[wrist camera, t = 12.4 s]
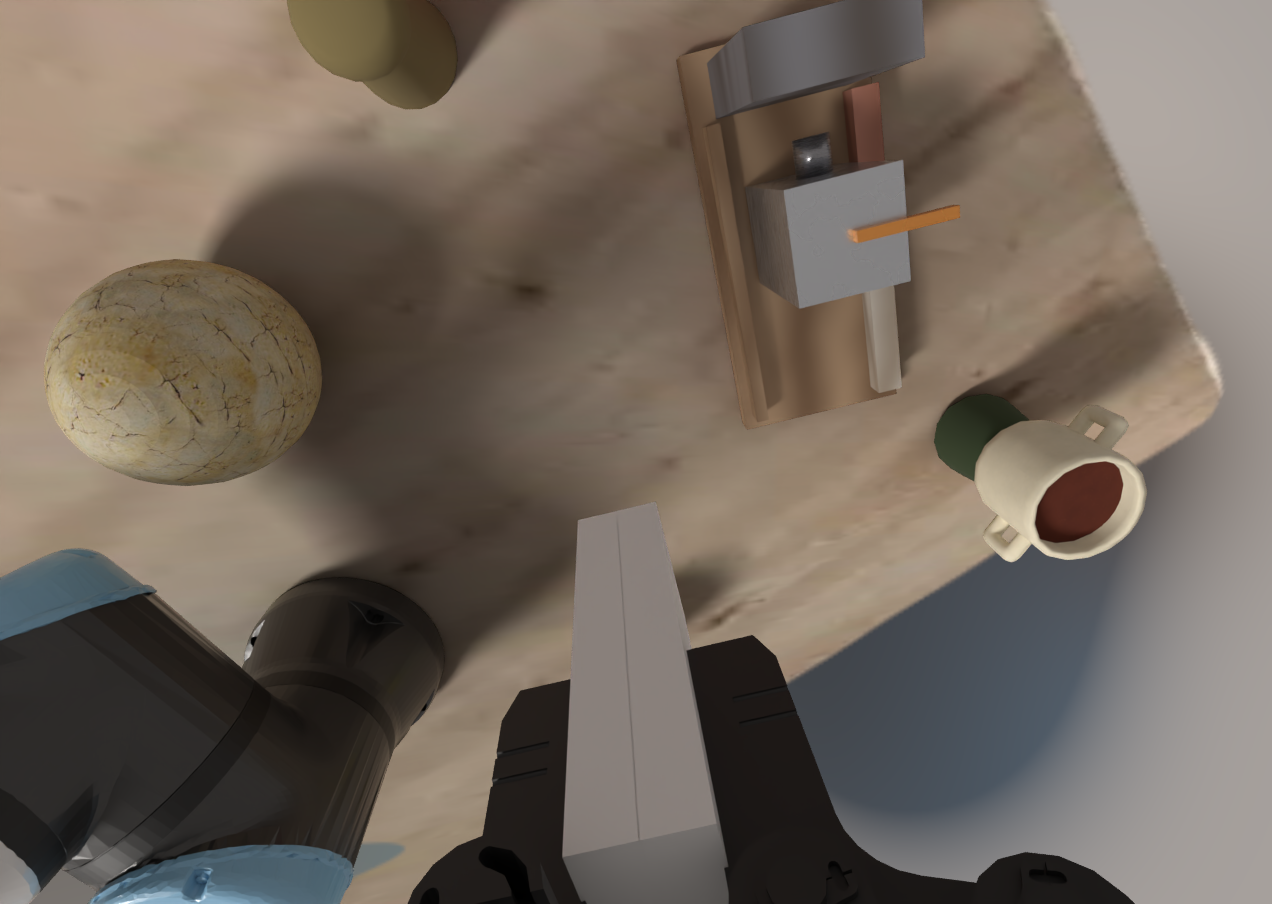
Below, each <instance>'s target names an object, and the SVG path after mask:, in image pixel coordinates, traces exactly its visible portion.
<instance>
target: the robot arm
mask: <svg viewBox="0 0 1272 904" xmlns="http://www.w3.org/2000/svg"><path fill="white" fill-rule="evenodd" d="M156 591H157V590H155V589H154V588H153V587H152V586H149V585H143V584H141V583H140V582H139V581H137V580H136V579H135V578H133V577H132V576H131V575H130V574H128V573H127V572H126V571H124V570H123V569H122V568H120V567H119V566H118V565H116V564H115V563H114V562H113V561H111V560H110V559H109V558H107V557H106V556H104V555H103V554H101V553H99V552H96V551H93V550H89V549H80V548H78V549H66V550H61V551H58V552H54V553H52V554H49V555H47V556H44V557H42V558H40V559H38V560H36V561H33V562H31V563H29V564H27V565H25V566H23V567H21V568H19V569H17V570H15V571H13V572H11V573H9V574H7V575H5V576H3V577H1V578H0V904H29V903H30V902H31V901H32V900H33V899H34V898H35V897H36V896H37V895H38V894H39V893H40V892H41V891H42V890H43V888H44V887H45V886H46V885H47V884H48V883H49V882H50V880H51V879H52V878H53V877H54V876H55V875H56V874H57V873H58V871H59V870H60V869H62V870H63V871H66V872H67V873H69V874H70V875H72V876H73V877H75V878H77V879H78V880H80V881H81V882H83V883H85V884H86V885H88V886H89V887H91V888H92V889H94V890H95V891H96V892H97V893H96V894H95V895H94V897H93V898H92V899H91V900H90V901H89V902H88V904H340V902H341V900H342V897H343V895H344V893H345V891H346V890H347V888H348V887H349V885H350V883H351V881H352V878H353V871H354V870H353V867H354V864H355V861H356V858H357V855H358V852H359V849H360V847H361V844H362V841H363V838H364V835H365V832H366V829H367V826H368V823H369V820H370V817H371V814H372V811H373V808H374V806H375V803H376V800H377V797H378V794H379V791H380V788H381V785H382V782H383V779H384V776H385V773H386V771H387V767H388V765H389V762H390V759H391V756H392V753H393V750H394V749H395V748H396V746H397V745H398V744H399V743H400V742H401V740H402V739H403V738H404V737H405V735H406V734H407V732H408V731H409V729H410V727H411V726H412V725H413V724H414V723H416V722H417V721H418V720H419V719H420V717H421V716H422V715H423V714H424V713H425V712H426V710H427V709H428V708H429V706H430V704H431V703H432V701H433V699H434V697H435V695H436V692H437V689H438V686H439V683H440V679H441V676H442V673H443V668H444V649H443V644H442V641H441V638H440V635H439V633H438V631H437V629H436V627H435V626H434V624H433V622H432V621H431V620H430V618H429V617H428V616H427V615H426V614H425V613H424V611H423V610H422V609H421V608H419V607H418V606H417V605H416V604H415V603H414V602H412V601H411V600H410V599H408V598H407V597H405V596H403V595H402V594H400V593H398V592H396V591H394V590H392V589H390V588H388V587H386V586H383V585H380V584H377V583H374V582H370V581H366V580H360V579H353V578H327V579H320V580H315V581H311V582H308V583H305V584H302V585H299V586H297V587H295V588H293V589H291V590H289V591H288V592H286V593H284V594H283V595H282V596H280V597H279V598H278V599H277V600H276V601H275V602H274V603H273V604H272V605H271V606H270V607H269V609H268V610H267V611H266V613H265V614H264V615H263V617H262V618H261V619H260V621H259V622H258V623H257V625H256V626H255V628H254V629H253V631H252V633H251V635H250V638H249V640H248V643H247V647H246V651H245V657H244V664H243V667H242V668H241V667H240V666H238V665H237V664H236V663H235V662H234V661H233V660H231V659H230V658H229V657H228V656H227V655H226V654H225V653H223V652H222V651H221V650H220V649H219V648H218V647H216V646H215V645H214V644H213V643H212V642H211V641H210V640H208V639H207V638H206V637H205V636H204V635H203V634H201V633H200V632H199V631H198V630H197V629H196V628H194V627H193V626H192V625H191V624H190V623H189V622H188V621H186V620H185V619H184V618H183V617H182V616H181V615H179V614H178V613H177V612H176V611H175V610H174V609H173V608H171V607H170V606H169V605H168V604H167V603H166V602H164V601H163V600H162V599H161V598H160V597H159V596H157V595H156V594H155V593H156ZM492 781H493V787H491V789H490V795H489V801H488V807H487V813H486V819H485V825H484V830H483V836H481V837H478V838H476V839H473V840H471V841H468V842H466V843H463V844H461V845H459V846H457V847H455V848H454V849H453V850H452V851H450V852H449V853H448V854H446V855H445V856H444V857H443V858H441V859H440V860H439V861H437V862H436V863H435V864H434V865H433V866H432V867H431V868H430V870H429V871H428V872H427V873H426V875H425V876H424V877H423V879H422V880H421V881H420V882H419V884H418V885H417V886H416V888H415V889H414V890H413V892H412V895H411V897H410V899H409V902H408V904H1135V903H1134V902H1133V901H1132V900H1130V899H1129V897H1127V896H1126V895H1125V894H1124V893H1122V892H1121V891H1120V890H1119V889H1117V888H1116V887H1115V886H1113V885H1112V884H1111V883H1109V882H1108V881H1107V880H1105V879H1104V878H1102V877H1101V876H1100V875H1099V874H1097V873H1096V872H1095V871H1093V870H1091V869H1088V868H1086V867H1084V866H1081V865H1079V864H1076V863H1074V862H1072V861H1069V860H1067V859H1065V858H1062V857H1060V856H1054V855H1046V854H1037V853H1028V852H1025V853H1020V854H1017V855H1013V856H1009V857H1005V858H1001V859H998V860H997V861H995V863H993V864H992V865H991V866H990V867H989V868H988V869H987V870H986V871H985V872H983V873H982V874H981V875H980V876H979V878H978V880H977V883H974V882H966V881H959V880H951V879H943V878H935V877H927V876H920V875H916V874H912V873H908V872H904V871H899V870H897V869H895V868H892V867H890V866H888V865H886V864H884V863H882V862H880V861H878V860H876V859H875V858H873V857H872V856H871V855H869V854H868V853H867V852H865V851H864V850H863V849H861V848H860V847H859V846H858V845H857V844H856V843H855V842H854V841H853V840H852V838H851V837H850V836H849V835H848V834H847V833H846V832H845V830H844V829H843V827H842V825H841V823H840V821H839V819H838V817H837V815H836V814H835V811H834V808H833V806H832V803H831V800H830V798H829V795H828V792H827V790H826V787H825V785H824V782H823V779H822V777H821V774H820V771H819V769H818V766H817V764H816V761H815V758H814V755H813V753H812V750H811V748H810V745H809V743H808V740H807V737H806V734H805V732H804V729H803V727H802V724H801V721H800V718H799V716H798V715H797V712H796V708H795V705H794V703H793V700H792V698H791V695H790V692H789V691H788V688H787V684H786V681H785V679H784V676H783V674H782V671H781V668H780V666H779V663H778V660H777V658H776V656H775V655H774V654H773V653H772V652H771V651H770V650H769V649H768V648H766V647H765V646H764V645H763V644H762V643H761V642H760V641H759V640H758V639H757V638H755V637H754V636H753V635H751V636H747V637H742V638H738V639H733V640H729V641H725V642H720V643H716V644H712V645H707V646H703V647H699V648H694V649H692V648H691V644H690V639H689V634H688V629H687V624H686V619H685V615H684V611H683V607H682V603H681V599H680V595H679V591H678V587H677V583H676V580H675V576H674V572H673V568H672V564H671V560H670V556H669V552H668V548H667V544H666V540H665V536H664V532H663V528H662V524H661V521H660V517H659V513H658V509H657V505H656V502H652V503H648V504H644V505H640V506H635V507H631V508H627V509H623V510H619V511H614V512H610V513H606V514H602V515H598V516H593V517H589V518H585V519H581V520H578V531H577V553H576V574H575V595H574V617H573V638H572V660H571V679H569V680H565V681H561V682H556V683H552V684H547V685H543V686H539V687H534V688H530V689H526V690H521V691H520V692H519V693H518V695H517V697H516V698H515V700H514V702H513V703H512V705H511V707H510V708H509V710H508V712H507V713H506V715H505V717H504V718H503V720H502V724H501V730H500V736H499V742H498V748H497V759H495V765H494V771H493V777H492Z"/></svg>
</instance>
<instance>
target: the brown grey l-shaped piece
mask: <svg viewBox="0 0 1272 904" xmlns="http://www.w3.org/2000/svg"><path fill="white" fill-rule="evenodd" d="M924 57H925V47H924V27H923V7H922V0H844V1H840V2H836V3H832V4H828V5H825V6H821V7H817V8H813V9H810V10H806V11H802V12H798V13H795V14H791V15H787V16H783V17H780V18H776V19H772V20H768V21H764V22H761V23H757V24H753V25H749V26H746V27H743V28H742V29H741V30H740V31H739V32H738V33H737V34H736V35H735V36H734V37H733V38H732V39H731V40H730V41H729V42H728V43H727V44H724V45H720V46H716V47H712V48H709V49H705V50H701V51H697V52H694V53H690V54H686V55H682V56H679V58H678V59H677V60H676V61H677V66H678V72H679V77H680V83H681V88H682V94H683V99H684V105H685V110H686V116H687V121H688V127H689V132H690V137H691V143H692V148H693V154H694V159H695V165H696V170H697V176H698V181H699V187H700V192H701V198H702V203H703V209H704V214H705V219H706V225H707V230H708V236H709V241H710V247H711V252H712V258H713V263H714V269H715V274H716V280H717V285H718V291H719V296H720V301H721V307H722V312H723V318H724V323H725V329H726V334H727V340H728V345H729V351H730V356H731V362H732V367H733V372H734V378H735V383H736V389H737V394H738V400H739V405H740V411H741V416H742V422H743V424H744V426H745V427H746V429H747V430H748V429H752V428H756V427H760V426H764V425H769V424H773V423H777V422H781V421H785V420H789V419H793V418H798V417H802V416H806V415H810V414H814V413H818V412H822V411H827V410H831V409H835V408H839V407H843V406H847V405H851V404H855V403H860V402H864V401H868V400H872V399H876V398H880V397H884V396H889V395H893V394H896V389H898V388H902V383H901V370H900V356H899V343H898V330H897V317H896V303H895V290H894V285H893V286H889V287H885V288H881V289H877V290H873V291H869V292H865V293H861V294H857V295H853V296H849V297H845V298H841V299H837V300H833V301H828V302H824V303H820V304H816V305H812V306H808V307H804V308H800V309H799V308H798V307H796V306H795V305H793V304H791V303H790V302H788V301H787V300H785V299H784V298H782V297H781V296H779V295H778V294H776V293H774V292H773V291H771V290H770V289H768V288H767V287H765V286H764V285H762V284H761V283H760V281H759V274H758V268H757V262H756V255H755V249H754V242H753V236H752V230H751V223H750V217H749V211H748V204H747V198H746V192H745V187H748V186H752V185H756V184H760V183H764V182H768V181H772V180H776V179H780V178H784V177H787V176H791V175H795V174H796V173H795V165H794V157H793V149H792V141H793V140H797V139H801V138H805V137H808V136H812V135H817V134H821V133H825V132H829V135H830V144H831V154H832V163H833V165H834V164H838V163H852V162H872V161H885V158H884V144H883V131H882V118H881V105H880V92H879V82H876V83H872V78H871V76H874V75H877V74H879V73H882V72H885V71H888V70H891V69H893V68H896V67H899V66H902V65H904V64H907V63H910V62H913V61H916V60H918V59H921V58H924Z"/></svg>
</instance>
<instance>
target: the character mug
mask: <svg viewBox="0 0 1272 904" xmlns="http://www.w3.org/2000/svg"><path fill="white" fill-rule="evenodd" d="M1094 422H1095V423H1097V424H1099V425H1101V426H1103V427H1105V428H1104V429H1103V431H1102V432H1101V433H1100V434H1099V435H1098V437H1097V438H1096V439H1095V440H1093V439H1091V438H1089V437H1087V436H1085V435H1084V434H1085V433H1086V432H1087V430H1088V429H1089V428H1090V427H1091V426H1092V424H1093V423H1094ZM1128 426H1129V425H1128V422H1127V421H1126V420H1125V419H1124V417H1122V416H1120V415H1118V414H1115V413H1113V412H1111V411H1109V410H1107V409H1104V408H1102V407H1100V406H1094V405H1087V406H1086V407H1085V408H1083V409H1082V410H1081V411H1080V412H1079V414H1078V415H1077V416H1076V417H1075V419H1074V420H1073V421H1072V422H1071V424H1070V425H1069V426H1066V425H1062V424H1059V423H1055V422H1052V421H1048V420H1032V421H1030V420H1029V419H1028V418H1026V417H1025V416H1024V415H1023V414H1022V413H1021V412H1020V411H1019V410H1017V409H1016V408H1015V407H1014V406H1013V405H1011V404H1010V403H1009V402H1007V401H1006V400H1005V399H1003V398H1000V397H996V396H993V395H989V394H983V395H977V396H971V397H966V398H964V399H963V400H961V401H959V402H958V403H956V404H954V405H953V406H951V407H949V408H948V409H947V411H946V412H945V414H944V415H943V416H942V418H941V419H940V420H939V422H938V423H937V428H936V433H935V439H934V443H935V446H936V449H937V453H938V456H939V458H940V459H941V460H942V461H943V462H944V463H945V464H947V465H948V466H949V467H950V468H951V469H953V470H955V471H956V472H958V473H960V474H961V475H963V476H965V477H967V478H969V479H971V480H973V481H974V482H975V484H976V487H977V489H978V491H979V493H980V496H981V498H982V500H983V502H984V503H985V504H986V505H987V506H988V507H989V508H991V509H992V510H993V511H994V512H995V513H996V514H997V516H996V517H995V518H994V519H993V521H992V522H991V523H990V524H989V526H988V527H987V528H986V529H985V531H984V533H983V537H984V540H985V541H986V543H987V544H988V545H989V546H990V547H991V548H993V549H994V550H995V551H996V552H997V553H998V554H999V555H1000V556H1001V557H1002V558H1003V559H1004V560H1006V561H1009V562H1013V561H1016V560H1017V559H1019V558H1020V557H1021V556H1022V555H1023V553H1024V552H1025V551H1026V550H1027V549H1028V547H1029V546H1030V545H1031V544H1033V545H1034V546H1036V547H1037V548H1038V549H1039V550H1040V551H1041V552H1043V553H1044V554H1046V555H1048V556H1052V557H1056V558H1060V559H1065V560H1071V559H1080V558H1087V557H1091V556H1093V555H1096V554H1098V553H1100V552H1103V551H1106V550H1108V549H1110V548H1111V547H1112V546H1114V545H1115V544H1117V543H1118V542H1120V541H1121V540H1122V539H1123V538H1125V537H1126V536H1127V535H1128V534H1129V533H1130V532H1131V530H1132V529H1133V527H1135V525H1136V524H1137V522H1138V520H1139V518H1140V516H1141V515H1142V513H1143V511H1144V506H1145V500H1146V495H1147V489H1146V485H1145V481H1144V478H1143V474H1142V473H1141V472H1140V470H1139V469H1138V468H1137V467H1136V466H1135V465H1134V464H1133V463H1132V462H1131V461H1130V460H1129V459H1127V458H1126V457H1125V456H1123V455H1121V454H1119V453H1117V452H1115V451H1114V450H1112V448H1113V447H1114V445H1115V444H1116V443H1117V442H1118V441H1119V439H1120V438H1121V437H1122V436H1123V435H1124V434H1125V432H1126V430H1127V428H1128ZM1009 526H1012V527H1013V528H1014V529H1015V530H1016V531H1018V533H1017V534H1016V536H1015V537H1014V538H1013V539H1012V541H1011V542H1010V543H1008V542H1007V541H1006V540H1005V539H1003V538H1002V537H1001V536H1002V534H1003V533H1004V532H1005V531H1006V529H1007V528H1008V527H1009Z"/></svg>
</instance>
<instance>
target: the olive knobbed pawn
mask: <svg viewBox="0 0 1272 904" xmlns="http://www.w3.org/2000/svg"><path fill="white" fill-rule="evenodd" d="M287 5H288V10H289V15H290V20H291V24H292V26H293V28H294V30H295V32H296V35H297V37H298V39H299V41H300V43H301V44H302V46H303V47H304V48H305V49H306V51H307V52H308V53H309V54H310V55H311V56H312V58H313V59H314V60H315V61H316V62H317V63H318V64H319V65H321V66H322V67H324V68H325V69H327V70H328V71H329V72H331V73H332V74H334V75H337V76H340V77H343V78H346V79H349V80H352V81H355V82H359V81H362V82H363V83H364V84H365V85H366V86H367V87H368V88H369V89H370V90H371V91H372V92H373V93H375V94H376V95H377V96H379V97H380V98H382V99H383V100H384V101H386V102H387V103H389V104H391V105H394V106H397V107H400V108H403V109H422V108H425V107H427V106H429V105H432V104H434V103H436V102H437V101H438V100H439V99H440V98H442V97H443V96H444V95H445V94H446V93H447V92H448V90H449V88H450V86H451V84H452V82H453V80H454V78H455V73H456V67H457V61H458V58H457V50H456V41H455V39H454V36H453V34H452V31H451V29H450V26H449V24H448V22H447V21H446V20H445V18H444V17H443V16H442V14H441V13H440V12H439V10H438V9H437V8H436V7H435V6H434V5H432V4H431V3H430V2H428V1H427V0H287Z"/></svg>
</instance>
